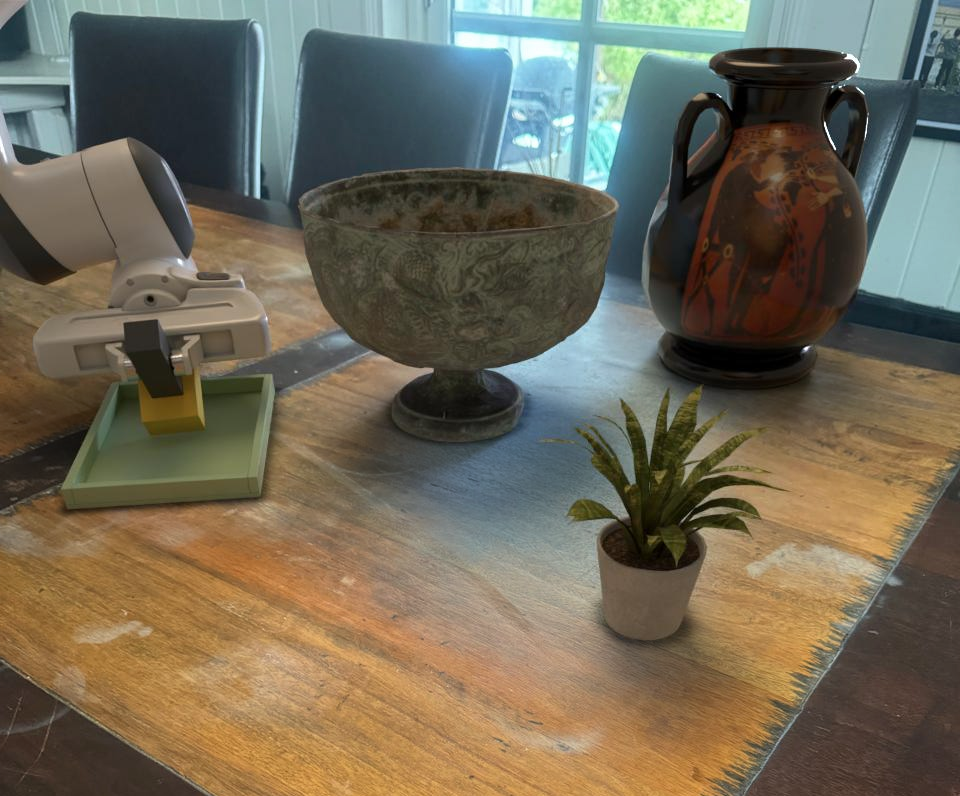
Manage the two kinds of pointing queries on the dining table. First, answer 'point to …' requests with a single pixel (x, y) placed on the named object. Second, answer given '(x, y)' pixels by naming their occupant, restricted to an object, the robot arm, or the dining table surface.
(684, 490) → the house plant
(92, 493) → the tray
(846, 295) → the amphora vase
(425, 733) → the dining table surface
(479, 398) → the decorative bowl
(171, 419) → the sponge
